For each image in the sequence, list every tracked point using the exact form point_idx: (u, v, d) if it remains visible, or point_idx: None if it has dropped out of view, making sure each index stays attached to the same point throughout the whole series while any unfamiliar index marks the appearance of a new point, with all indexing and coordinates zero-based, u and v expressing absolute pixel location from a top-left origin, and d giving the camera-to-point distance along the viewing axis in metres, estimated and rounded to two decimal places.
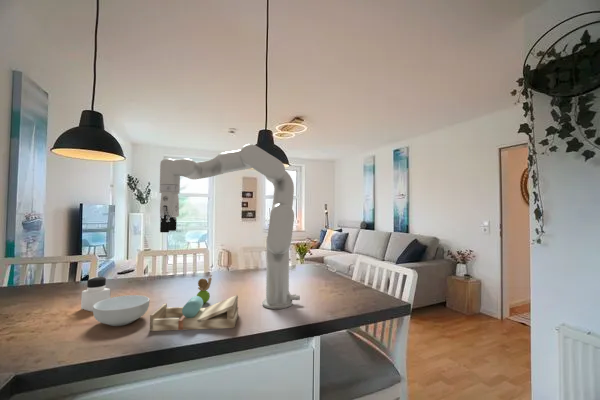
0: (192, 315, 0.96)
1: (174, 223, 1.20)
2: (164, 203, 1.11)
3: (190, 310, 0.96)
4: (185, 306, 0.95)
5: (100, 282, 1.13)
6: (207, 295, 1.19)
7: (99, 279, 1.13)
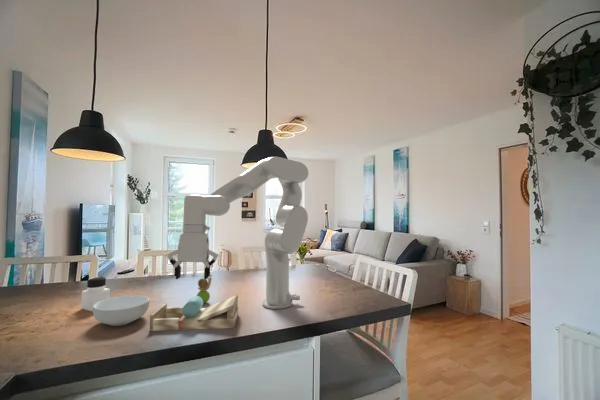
0: (192, 315, 0.96)
1: (180, 269, 1.00)
2: (207, 246, 1.00)
3: (190, 310, 0.96)
4: (185, 306, 0.95)
5: (100, 282, 1.13)
6: (207, 295, 1.19)
7: (99, 279, 1.13)
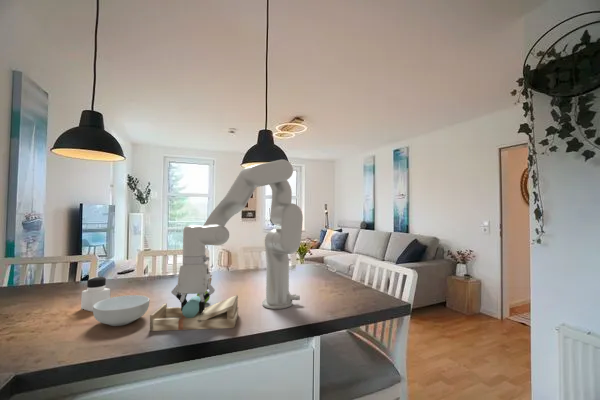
0: (192, 315, 0.96)
1: None
2: (207, 276, 1.00)
3: (190, 310, 0.96)
4: (185, 306, 0.95)
5: (100, 282, 1.13)
6: None
7: (99, 279, 1.13)
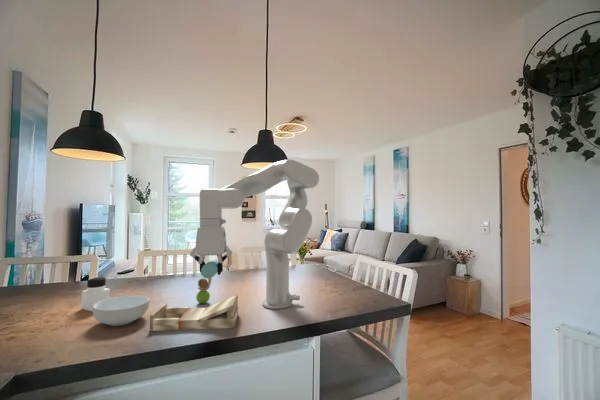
0: (211, 275, 0.97)
1: None
2: (225, 239, 1.01)
3: (209, 270, 0.97)
4: (204, 267, 0.97)
5: (100, 282, 1.13)
6: (207, 295, 1.19)
7: (99, 279, 1.13)
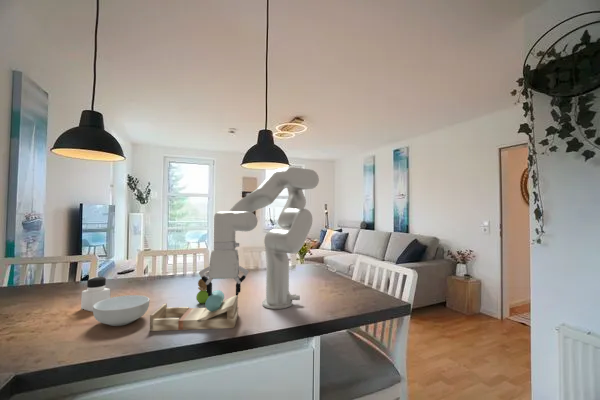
0: (218, 302, 0.97)
1: (211, 285, 1.01)
2: (238, 262, 1.01)
3: (213, 303, 0.96)
4: (207, 307, 0.96)
5: (100, 282, 1.13)
6: (207, 295, 1.19)
7: (99, 279, 1.13)
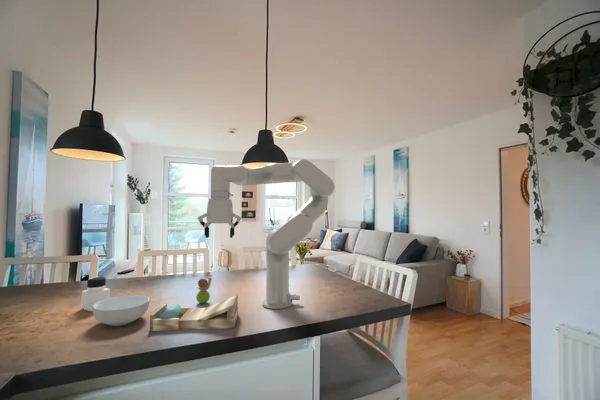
0: (171, 316, 0.95)
1: None
2: (232, 210, 1.17)
3: None
4: None
5: (100, 282, 1.13)
6: (207, 295, 1.19)
7: (99, 279, 1.13)
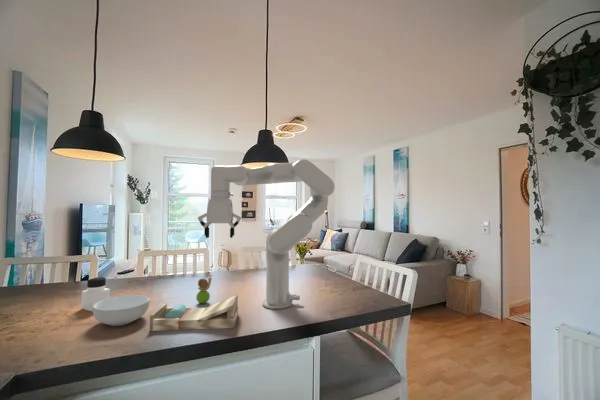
0: None
1: None
2: (232, 210, 1.17)
3: None
4: None
5: (100, 282, 1.13)
6: (207, 295, 1.19)
7: (99, 279, 1.13)
